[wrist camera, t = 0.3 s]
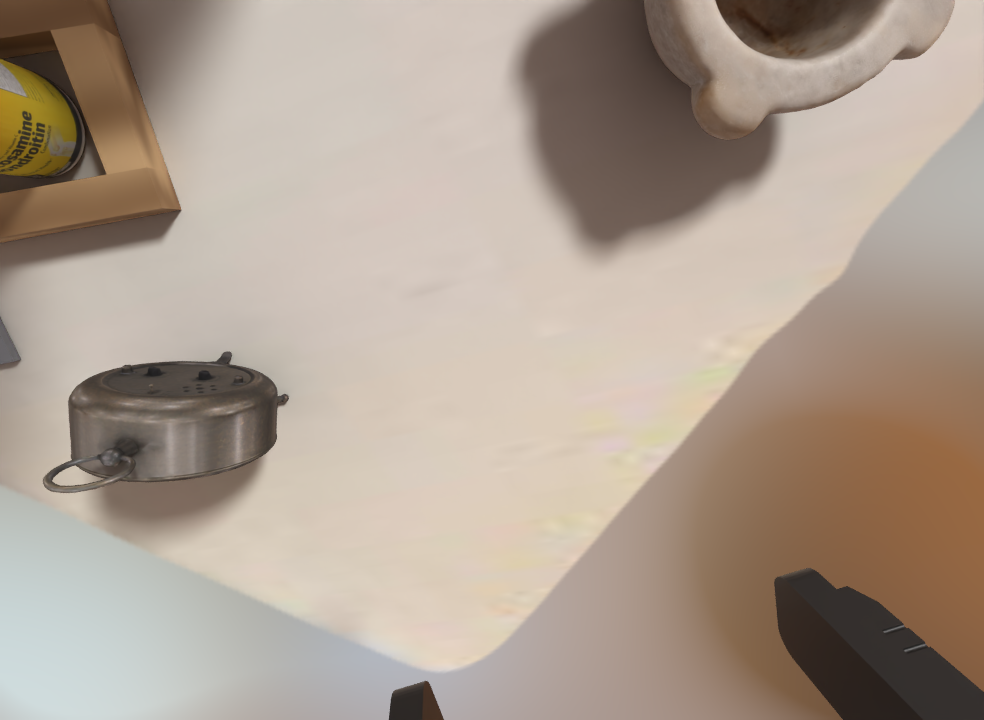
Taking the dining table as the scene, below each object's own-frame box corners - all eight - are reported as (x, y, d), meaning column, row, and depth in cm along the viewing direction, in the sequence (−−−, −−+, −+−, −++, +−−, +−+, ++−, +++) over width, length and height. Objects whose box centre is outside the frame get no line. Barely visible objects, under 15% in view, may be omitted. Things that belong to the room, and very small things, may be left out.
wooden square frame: (-132, 30, 28) (-183, 13, 26) (104, -7, 29) (75, -27, 27) (-26, 247, 32) (-63, 248, 30) (181, 209, 33) (161, 208, 30)
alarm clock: (153, 405, 36) (-65, 537, 20) (149, 337, 35) (-88, 423, 19) (300, 416, 38) (202, 547, 22) (302, 352, 36) (198, 442, 21)
